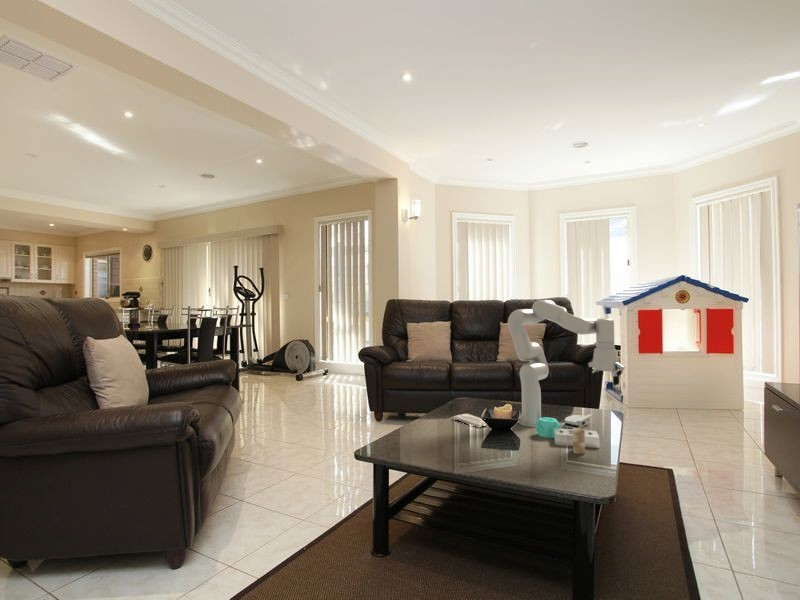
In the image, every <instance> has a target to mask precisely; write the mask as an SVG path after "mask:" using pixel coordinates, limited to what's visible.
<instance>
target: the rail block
mask: <svg viewBox="0 0 800 600" xmlns="http://www.w3.org/2000/svg"><path fill="white" fill-rule="evenodd" d="M584 431H585V448H593V449H595V448H596V449H600V448H601V443H600V436H599V433H598V431H596V430H587V429H584ZM553 440H554V445H555V446H568V447H570V446H572V447H573V429H572V428H560V429H558V428H554V438H553Z"/></svg>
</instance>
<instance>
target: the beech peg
mask: <svg viewBox="0 0 800 600" xmlns="http://www.w3.org/2000/svg"><path fill="white" fill-rule="evenodd" d="M584 430H585V429H584V427H582V428H573V446H572V450H573V453H574V454H581V455H586V447H585V431H584Z"/></svg>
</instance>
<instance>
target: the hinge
mask: <svg viewBox="0 0 800 600" xmlns="http://www.w3.org/2000/svg"><path fill="white" fill-rule="evenodd" d="M590 417H593V414H590V413H589V414H587V415H582V414H581V415H580V414H572V415H569V416H567V417H565V418H564V421H563V423H564V424H563V425H564V427H565V428H566V429H573V428H584V427H585V426H587V425H589V424H590V421H589V419H590Z"/></svg>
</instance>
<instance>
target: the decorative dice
mask: <svg viewBox="0 0 800 600" xmlns="http://www.w3.org/2000/svg"><path fill="white" fill-rule="evenodd" d="M554 428H558V429H561V425H560V423H559V421H558V420H557V419H556V418H553V417H544V416H543V417H541V418H540V419H539V420H538V421H537V423H536V427H535V429H536V430H535V431H536V433H537V435H538V436H539V437H541V438H546V439H554Z"/></svg>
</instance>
